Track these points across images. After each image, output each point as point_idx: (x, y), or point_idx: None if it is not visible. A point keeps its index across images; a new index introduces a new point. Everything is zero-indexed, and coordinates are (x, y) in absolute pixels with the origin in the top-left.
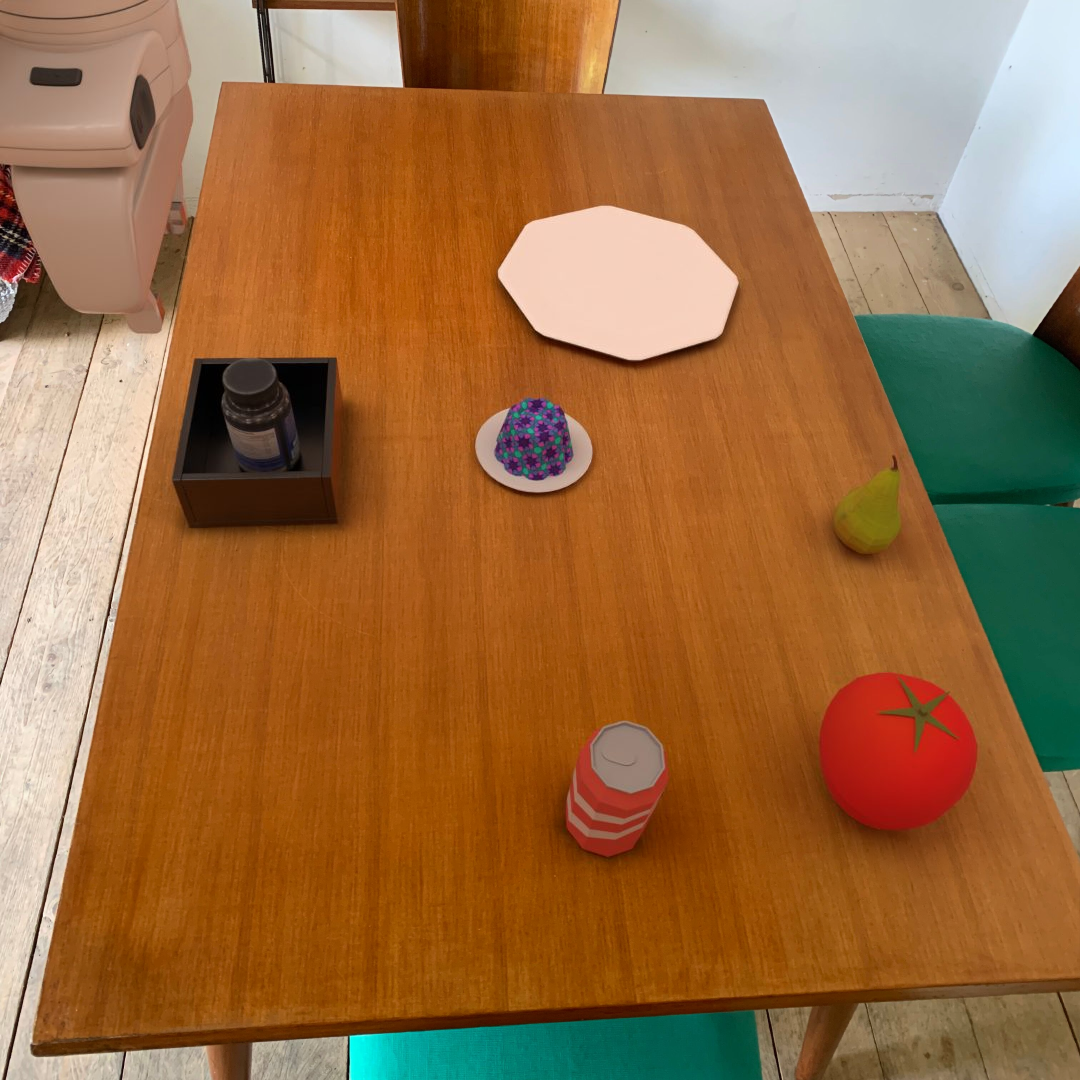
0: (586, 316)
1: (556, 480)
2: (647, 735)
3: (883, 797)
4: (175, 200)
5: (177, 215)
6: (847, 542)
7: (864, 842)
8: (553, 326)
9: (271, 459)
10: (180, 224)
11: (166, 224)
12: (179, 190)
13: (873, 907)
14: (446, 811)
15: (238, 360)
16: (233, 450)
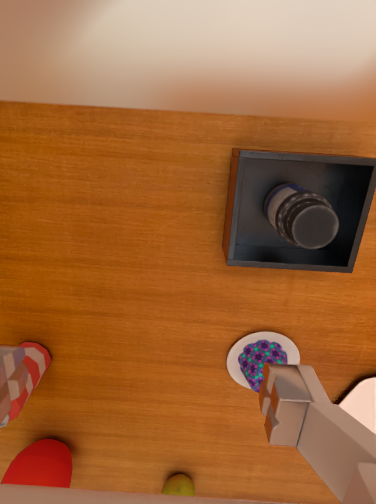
0: (372, 405)
1: (235, 368)
2: (4, 422)
3: (3, 481)
4: (301, 441)
5: (267, 427)
6: (170, 480)
7: (30, 438)
8: (367, 388)
9: (267, 215)
10: (262, 411)
11: (268, 388)
12: (316, 468)
13: (4, 433)
14: (33, 291)
15: (337, 218)
16: (298, 178)
